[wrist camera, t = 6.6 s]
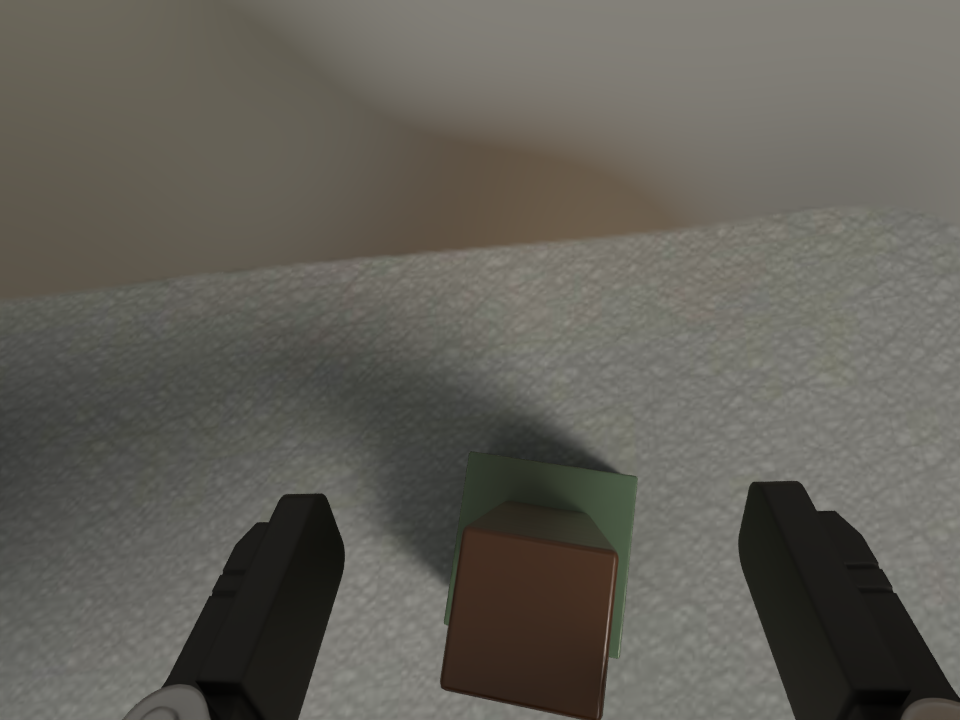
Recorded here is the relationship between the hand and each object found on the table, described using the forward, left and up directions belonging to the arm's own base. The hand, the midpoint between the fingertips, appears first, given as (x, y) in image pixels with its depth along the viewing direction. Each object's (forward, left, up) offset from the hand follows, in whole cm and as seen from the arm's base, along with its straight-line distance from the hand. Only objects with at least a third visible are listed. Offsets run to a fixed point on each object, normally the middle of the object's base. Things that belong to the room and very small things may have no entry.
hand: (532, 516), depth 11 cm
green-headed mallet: (0, +1, -7) cm, 7 cm away
